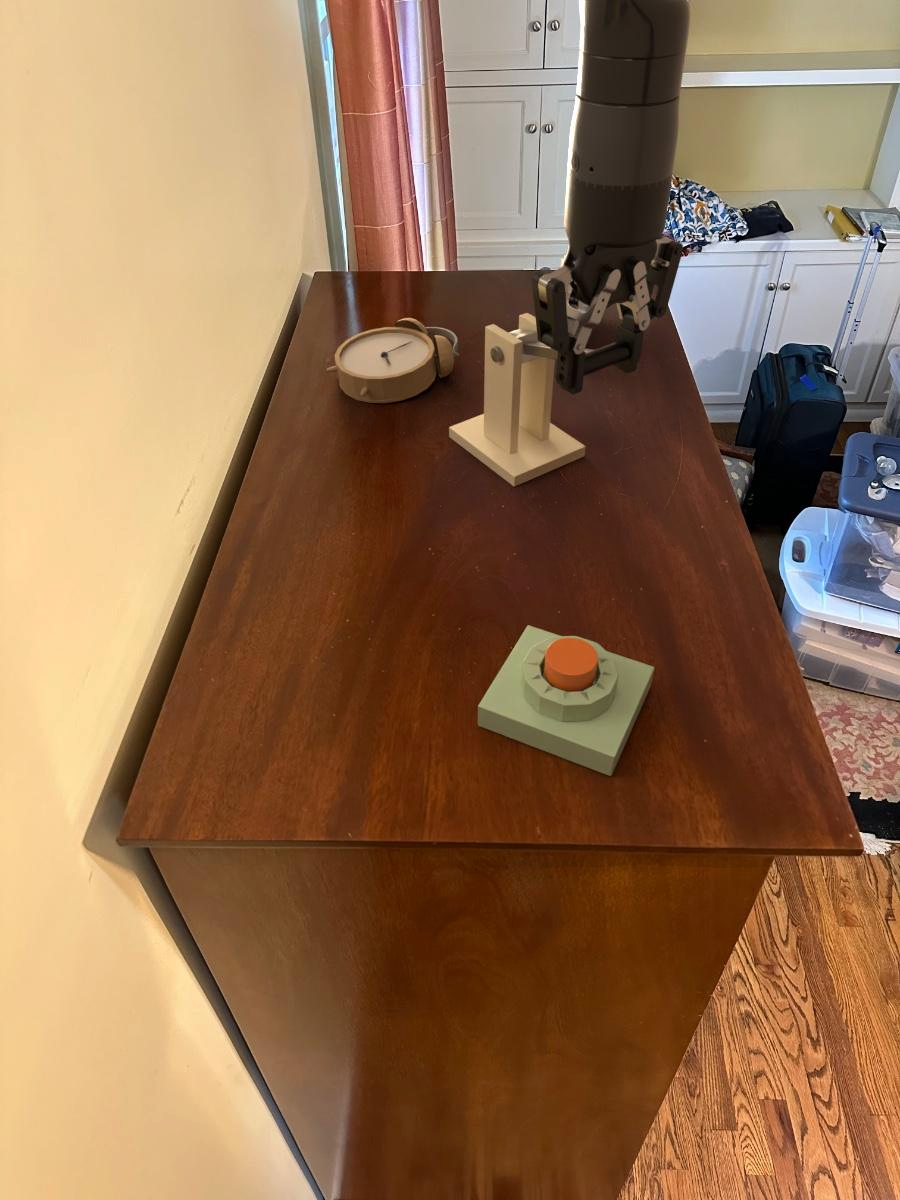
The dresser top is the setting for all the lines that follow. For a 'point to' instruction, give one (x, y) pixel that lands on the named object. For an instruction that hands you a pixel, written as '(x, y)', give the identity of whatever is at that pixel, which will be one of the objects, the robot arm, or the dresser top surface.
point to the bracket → (516, 413)
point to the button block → (566, 704)
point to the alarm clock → (394, 361)
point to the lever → (592, 358)
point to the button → (570, 664)
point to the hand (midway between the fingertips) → (597, 378)
